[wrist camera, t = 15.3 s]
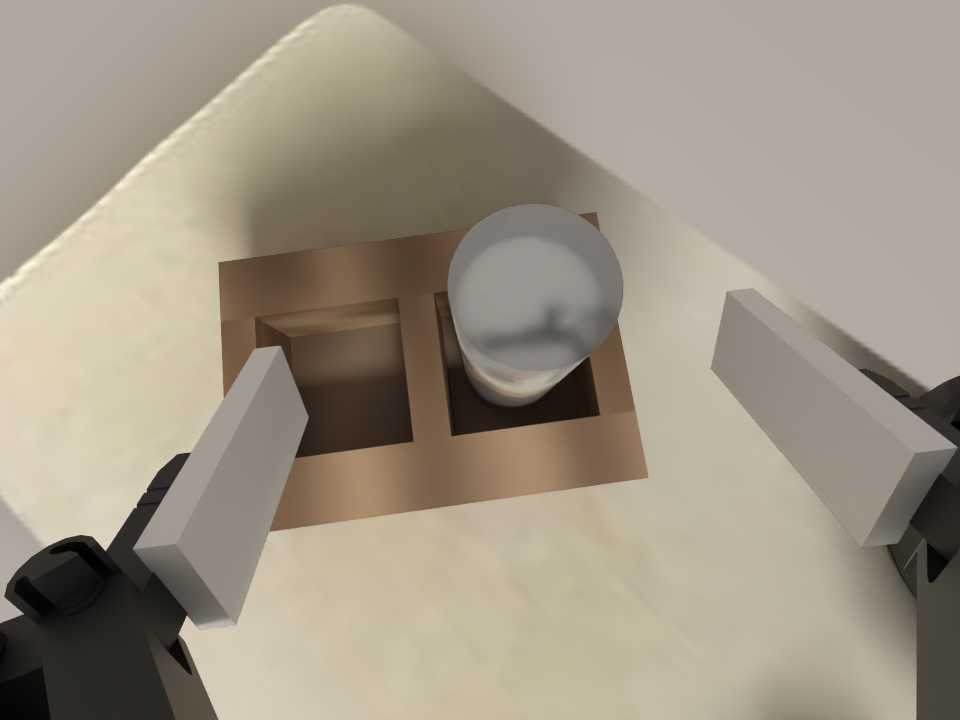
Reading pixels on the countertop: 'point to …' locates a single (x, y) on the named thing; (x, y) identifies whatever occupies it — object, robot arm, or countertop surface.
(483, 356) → the pin
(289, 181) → the countertop surface
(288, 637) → the countertop surface
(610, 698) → the countertop surface
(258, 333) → the socket block
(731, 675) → the countertop surface
